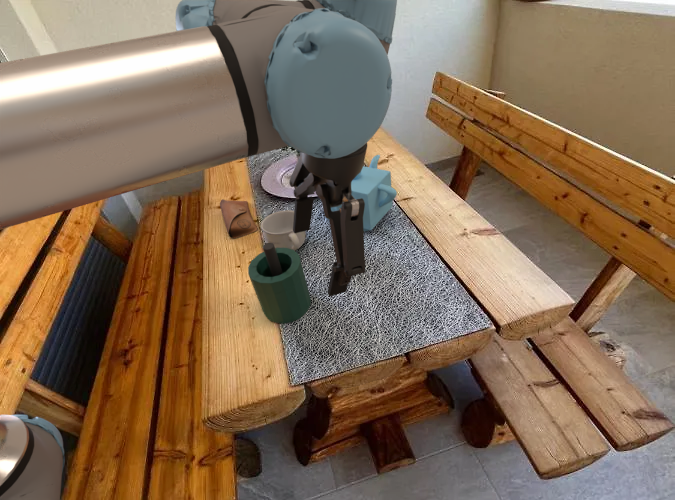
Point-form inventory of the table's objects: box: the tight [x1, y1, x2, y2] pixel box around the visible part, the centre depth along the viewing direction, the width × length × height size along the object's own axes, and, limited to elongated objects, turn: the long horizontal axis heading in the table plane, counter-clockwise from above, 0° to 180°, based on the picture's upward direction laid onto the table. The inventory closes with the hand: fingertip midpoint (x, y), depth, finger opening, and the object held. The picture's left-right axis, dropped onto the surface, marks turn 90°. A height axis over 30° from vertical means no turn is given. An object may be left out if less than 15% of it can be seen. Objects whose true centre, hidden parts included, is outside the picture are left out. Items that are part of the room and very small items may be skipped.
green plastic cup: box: [247, 248, 312, 324], centre depth 82 cm, size 11×11×12 cm
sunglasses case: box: [219, 199, 259, 240], centre depth 114 cm, size 18×7×7 cm
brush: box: [262, 242, 283, 277], centre depth 80 cm, size 3×3×16 cm
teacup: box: [260, 209, 307, 252], centre depth 98 cm, size 14×11×8 cm
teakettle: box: [326, 154, 398, 232], centre depth 103 cm, size 19×19×15 cm
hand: (317, 259), depth 60 cm, fingers open, 13 cm apart
